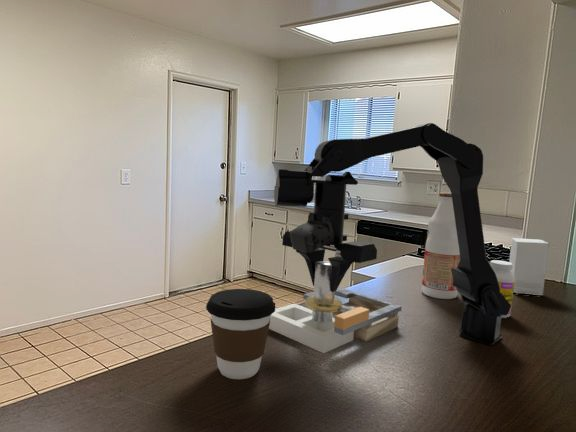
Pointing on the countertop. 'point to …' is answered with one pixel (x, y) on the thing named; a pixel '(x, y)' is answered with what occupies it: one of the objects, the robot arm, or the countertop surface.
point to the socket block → (373, 328)
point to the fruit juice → (441, 251)
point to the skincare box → (528, 265)
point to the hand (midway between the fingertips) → (324, 288)
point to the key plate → (365, 298)
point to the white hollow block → (307, 328)
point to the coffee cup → (240, 330)
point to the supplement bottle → (504, 280)
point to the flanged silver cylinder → (323, 295)
